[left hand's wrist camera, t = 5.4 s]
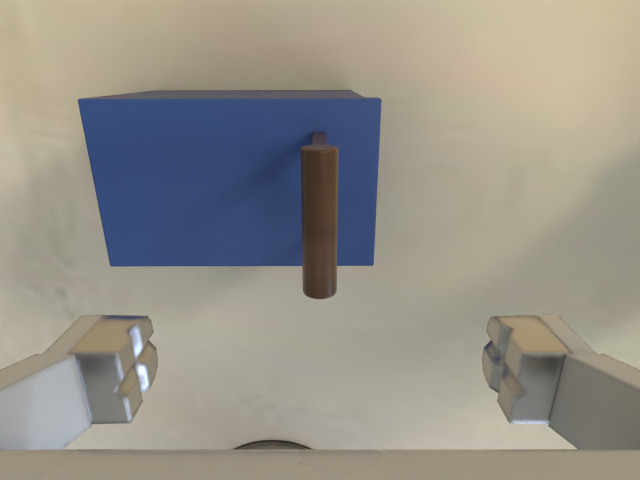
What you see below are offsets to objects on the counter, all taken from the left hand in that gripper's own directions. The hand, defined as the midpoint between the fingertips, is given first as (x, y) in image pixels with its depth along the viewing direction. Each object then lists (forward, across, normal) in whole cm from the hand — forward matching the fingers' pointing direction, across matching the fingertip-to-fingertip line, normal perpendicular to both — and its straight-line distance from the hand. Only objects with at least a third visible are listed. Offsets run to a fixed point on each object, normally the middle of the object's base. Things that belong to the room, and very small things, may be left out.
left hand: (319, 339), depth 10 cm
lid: (+15, -5, 0) cm, 16 cm away
